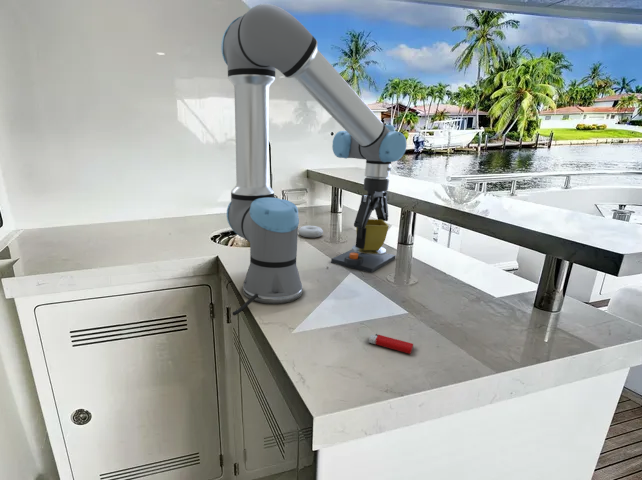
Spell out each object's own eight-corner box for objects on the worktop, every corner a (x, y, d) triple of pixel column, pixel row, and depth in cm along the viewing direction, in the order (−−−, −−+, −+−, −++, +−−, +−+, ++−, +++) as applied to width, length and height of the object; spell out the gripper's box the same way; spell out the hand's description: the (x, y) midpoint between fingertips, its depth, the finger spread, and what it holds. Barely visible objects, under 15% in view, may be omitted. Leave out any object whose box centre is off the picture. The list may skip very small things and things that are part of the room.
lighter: (410, 349, 71) (368, 337, 75) (409, 355, 71) (367, 343, 75) (413, 342, 73) (372, 331, 77) (412, 348, 74) (371, 337, 77)
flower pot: (385, 253, 121) (389, 225, 118) (358, 252, 121) (361, 224, 118) (379, 245, 129) (382, 219, 126) (353, 244, 129) (355, 218, 126)
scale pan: (377, 257, 118) (377, 256, 118) (345, 250, 125) (345, 248, 124) (391, 250, 126) (391, 248, 126) (361, 243, 133) (361, 242, 133)
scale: (369, 274, 113) (370, 264, 112) (328, 263, 121) (329, 254, 120) (395, 259, 127) (396, 250, 126) (357, 250, 135) (358, 242, 134)
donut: (308, 231, 160) (292, 235, 153) (308, 223, 159) (293, 226, 152) (327, 236, 154) (312, 240, 147) (328, 227, 153) (313, 231, 146)
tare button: (355, 260, 116) (355, 255, 116) (347, 258, 118) (348, 253, 117) (359, 258, 118) (359, 253, 117) (351, 256, 120) (352, 252, 119)
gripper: (370, 182, 106) (362, 254, 113) (403, 176, 125) (395, 238, 132) (346, 179, 111) (340, 249, 118) (382, 174, 129) (375, 234, 136)
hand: (369, 243), depth 125 cm, fingers open, 13 cm apart
